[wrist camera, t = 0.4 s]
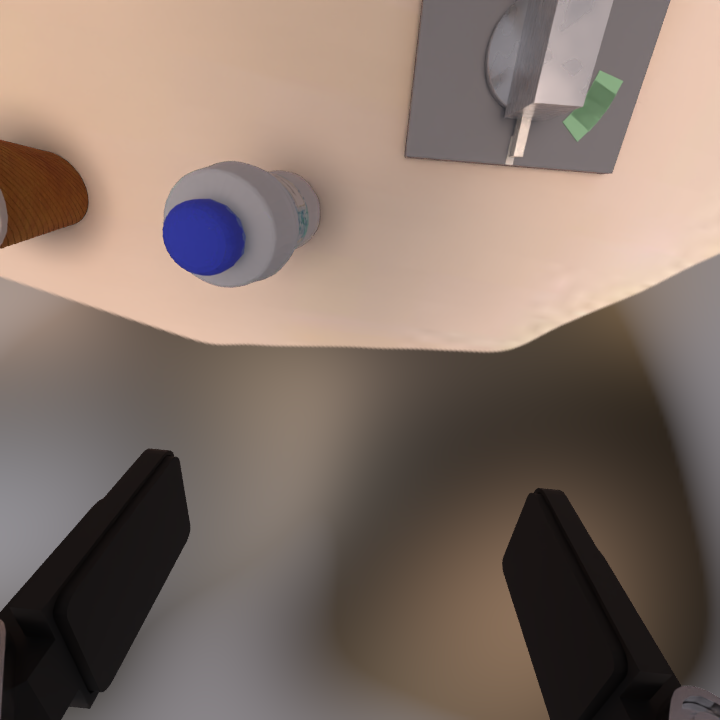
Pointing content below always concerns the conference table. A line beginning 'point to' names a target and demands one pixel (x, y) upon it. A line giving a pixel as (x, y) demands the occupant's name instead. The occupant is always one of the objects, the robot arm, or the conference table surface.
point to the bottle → (238, 222)
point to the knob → (544, 59)
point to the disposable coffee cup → (37, 193)
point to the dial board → (486, 116)
